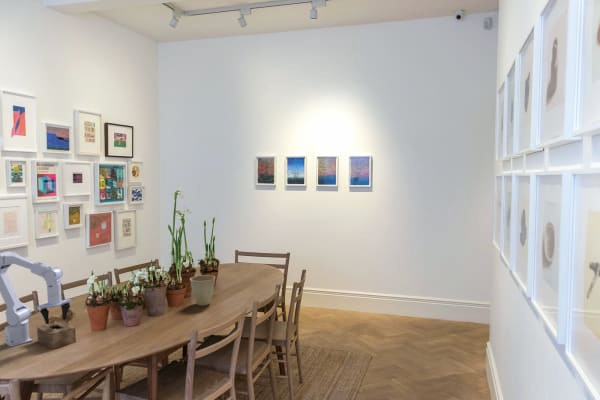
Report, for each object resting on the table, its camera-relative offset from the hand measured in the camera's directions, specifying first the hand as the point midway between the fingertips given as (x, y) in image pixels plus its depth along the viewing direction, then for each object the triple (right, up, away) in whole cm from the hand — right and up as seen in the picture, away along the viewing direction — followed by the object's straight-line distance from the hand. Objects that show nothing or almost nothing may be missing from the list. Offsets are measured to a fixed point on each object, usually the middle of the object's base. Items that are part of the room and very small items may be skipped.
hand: (55, 321), depth 211 cm
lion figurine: (-9, -9, +21) cm, 24 cm away
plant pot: (+58, -5, +58) cm, 82 cm away
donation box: (0, -10, +1) cm, 10 cm away
